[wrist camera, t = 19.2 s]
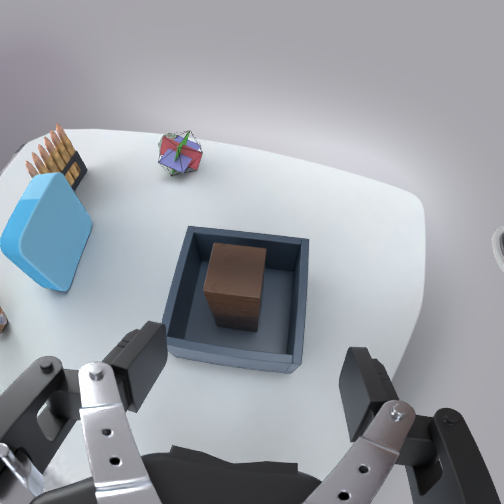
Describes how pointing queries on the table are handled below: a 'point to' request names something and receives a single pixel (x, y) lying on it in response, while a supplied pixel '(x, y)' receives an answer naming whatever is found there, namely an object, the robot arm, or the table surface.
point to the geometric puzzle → (179, 153)
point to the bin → (272, 307)
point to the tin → (2, 320)
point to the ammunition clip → (59, 159)
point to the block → (235, 285)
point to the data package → (47, 232)
